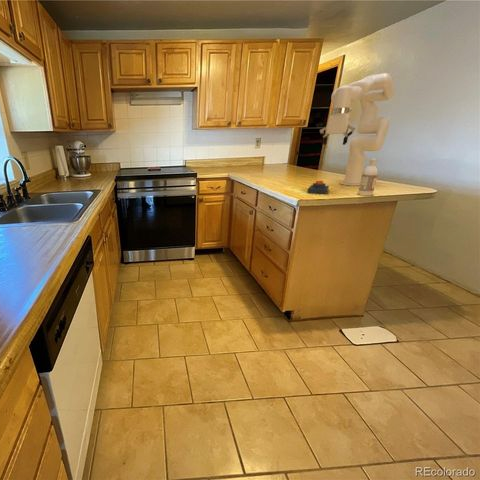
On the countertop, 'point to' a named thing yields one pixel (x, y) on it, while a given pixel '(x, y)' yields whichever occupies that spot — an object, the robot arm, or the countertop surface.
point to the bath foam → (368, 179)
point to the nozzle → (319, 182)
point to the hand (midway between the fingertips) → (334, 144)
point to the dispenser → (318, 188)
